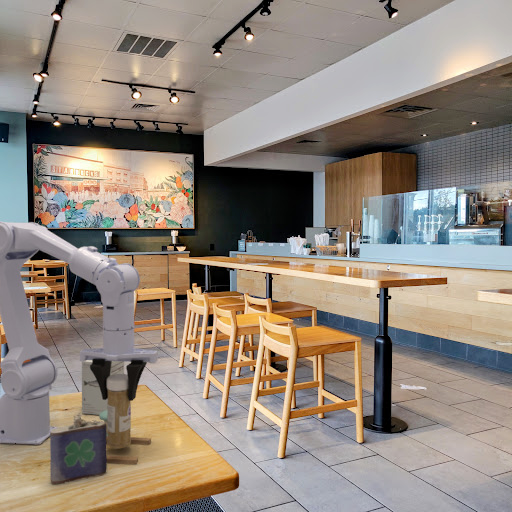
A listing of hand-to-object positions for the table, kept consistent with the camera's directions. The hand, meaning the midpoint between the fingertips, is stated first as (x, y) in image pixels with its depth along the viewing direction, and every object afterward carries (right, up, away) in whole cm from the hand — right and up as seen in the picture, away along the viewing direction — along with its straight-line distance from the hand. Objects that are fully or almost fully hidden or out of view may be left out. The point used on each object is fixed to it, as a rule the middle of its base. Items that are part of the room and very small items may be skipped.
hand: (119, 398), depth 95 cm
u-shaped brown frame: (0, -10, +1) cm, 10 cm away
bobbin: (-4, -10, +8) cm, 14 cm away
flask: (-4, -11, -9) cm, 15 cm away
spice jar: (0, -9, +1) cm, 9 cm away
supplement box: (-10, -9, +22) cm, 26 cm away
